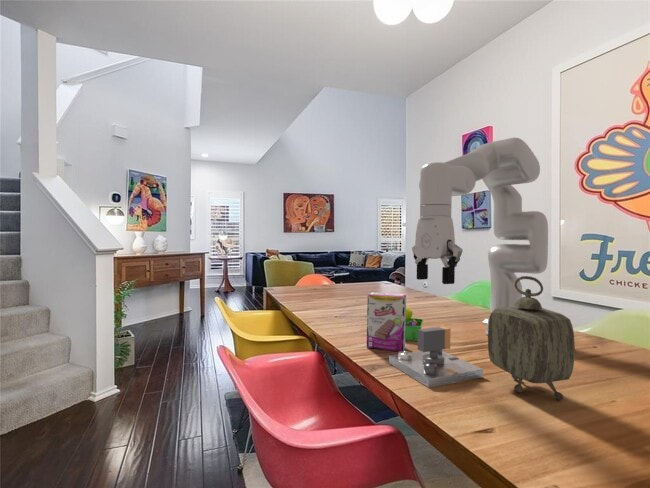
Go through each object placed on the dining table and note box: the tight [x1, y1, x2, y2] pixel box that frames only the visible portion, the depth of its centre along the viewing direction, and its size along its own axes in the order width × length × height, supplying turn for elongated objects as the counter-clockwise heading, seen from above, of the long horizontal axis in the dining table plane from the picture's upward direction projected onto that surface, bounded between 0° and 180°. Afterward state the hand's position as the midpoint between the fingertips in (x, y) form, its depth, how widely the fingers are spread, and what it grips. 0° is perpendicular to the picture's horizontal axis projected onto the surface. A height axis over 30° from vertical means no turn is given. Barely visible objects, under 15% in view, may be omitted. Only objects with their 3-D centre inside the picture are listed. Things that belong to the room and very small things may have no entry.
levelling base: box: [388, 350, 484, 389], centre depth 84 cm, size 16×16×4 cm
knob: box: [417, 325, 451, 365], centre depth 84 cm, size 5×8×8 cm, turn 112°
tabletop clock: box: [487, 275, 576, 401], centre depth 73 cm, size 14×9×25 cm, turn 17°
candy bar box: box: [366, 291, 407, 352], centre depth 101 cm, size 11×5×16 cm, turn 71°
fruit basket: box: [405, 306, 424, 342], centre depth 114 cm, size 11×9×11 cm
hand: (434, 281), depth 84 cm, fingers open, 9 cm apart
